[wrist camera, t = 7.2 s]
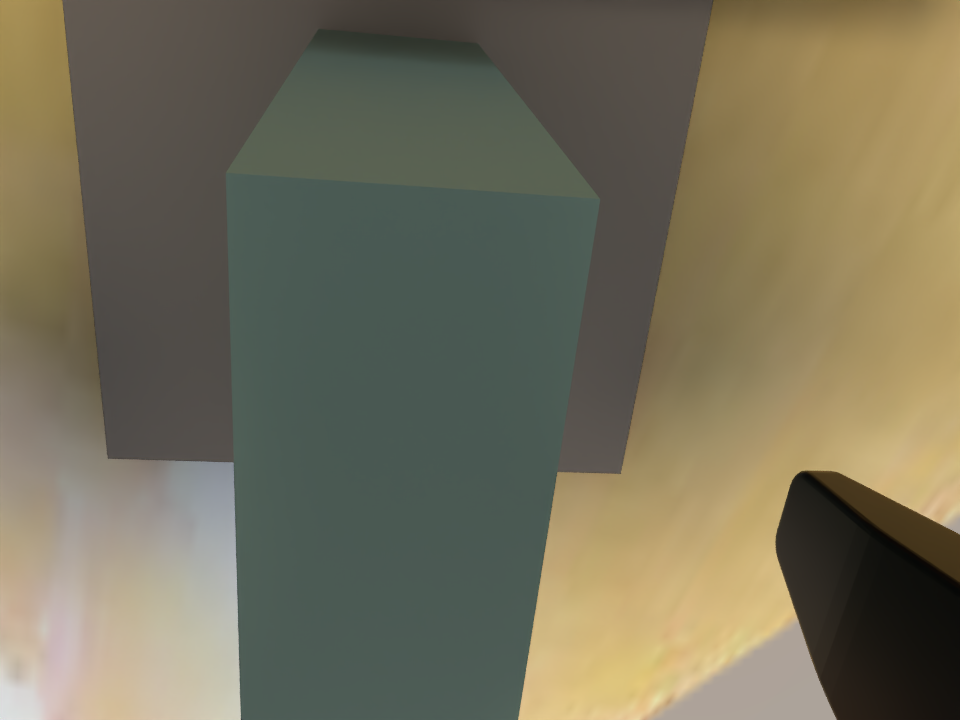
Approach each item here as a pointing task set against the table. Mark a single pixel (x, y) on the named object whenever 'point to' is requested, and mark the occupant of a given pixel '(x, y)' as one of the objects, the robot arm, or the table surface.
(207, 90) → the mat
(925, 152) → the table surface
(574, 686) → the table surface
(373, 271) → the teal block
